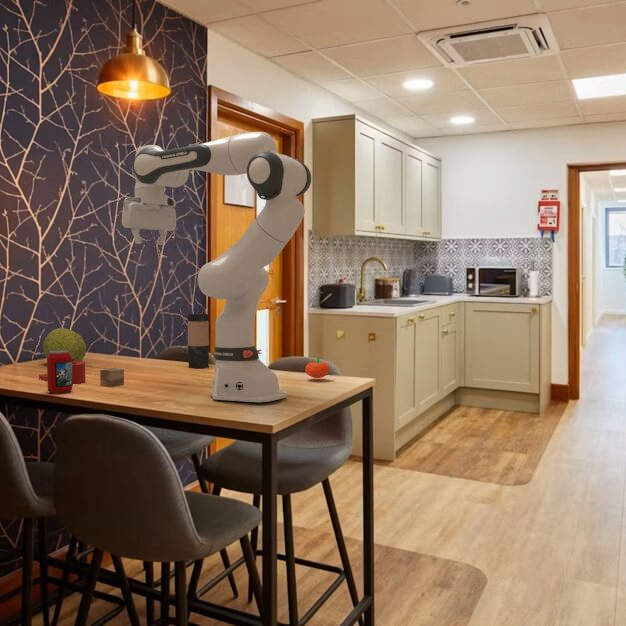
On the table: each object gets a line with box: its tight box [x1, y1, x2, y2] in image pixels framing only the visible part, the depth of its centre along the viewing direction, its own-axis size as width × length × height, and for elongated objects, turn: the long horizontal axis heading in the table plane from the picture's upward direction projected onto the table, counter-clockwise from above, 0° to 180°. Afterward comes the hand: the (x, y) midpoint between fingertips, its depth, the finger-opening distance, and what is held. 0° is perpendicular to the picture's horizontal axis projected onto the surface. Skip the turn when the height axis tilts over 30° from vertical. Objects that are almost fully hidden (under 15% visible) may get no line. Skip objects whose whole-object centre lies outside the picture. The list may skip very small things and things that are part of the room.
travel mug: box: [187, 313, 210, 370], centre depth 247 cm, size 8×8×20 cm
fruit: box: [42, 327, 88, 362], centre depth 248 cm, size 16×14×15 cm
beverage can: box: [46, 350, 73, 395], centre depth 197 cm, size 7×7×12 cm
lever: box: [38, 361, 86, 386], centre depth 215 cm, size 18×9×7 cm, turn 61°
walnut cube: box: [99, 367, 125, 388], centre depth 210 cm, size 5×5×5 cm
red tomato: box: [304, 358, 330, 379], centre depth 225 cm, size 7×8×6 cm
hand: (149, 244), depth 210 cm, fingers open, 8 cm apart
